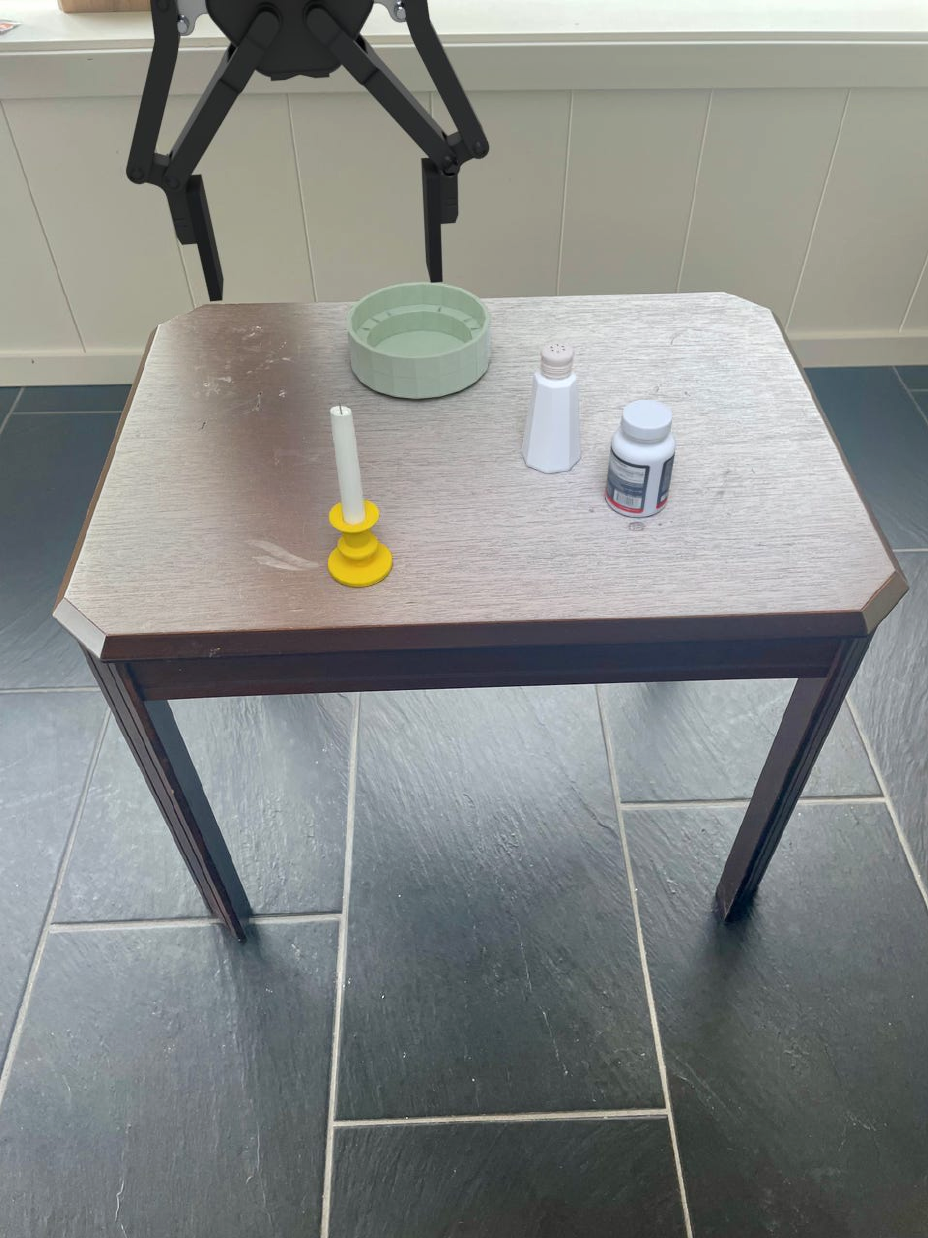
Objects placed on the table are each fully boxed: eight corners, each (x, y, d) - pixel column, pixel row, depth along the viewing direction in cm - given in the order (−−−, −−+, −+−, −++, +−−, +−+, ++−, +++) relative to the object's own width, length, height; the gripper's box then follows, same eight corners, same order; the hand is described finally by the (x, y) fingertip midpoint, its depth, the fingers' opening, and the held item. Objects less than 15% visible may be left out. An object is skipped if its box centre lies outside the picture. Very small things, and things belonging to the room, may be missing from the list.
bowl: (356, 409, 92) (350, 363, 89) (347, 331, 102) (342, 287, 98) (500, 395, 94) (500, 350, 90) (478, 320, 103) (478, 276, 99)
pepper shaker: (556, 430, 90) (563, 323, 82) (593, 460, 87) (604, 352, 78) (508, 451, 88) (511, 343, 80) (544, 482, 85) (551, 374, 76)
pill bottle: (650, 474, 85) (663, 388, 79) (677, 511, 82) (693, 424, 75) (594, 487, 84) (604, 401, 78) (619, 524, 81) (632, 438, 74)
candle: (354, 534, 80) (333, 373, 69) (405, 557, 78) (392, 396, 67) (315, 572, 77) (286, 410, 66) (367, 597, 75) (346, 434, 64)
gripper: (521, -173, 48) (512, 237, 64) (9, -150, 46) (129, 268, 62) (551, -143, 43) (533, 294, 59) (-22, -116, 41) (117, 329, 57)
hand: (326, 281), depth 60 cm, fingers open, 13 cm apart
